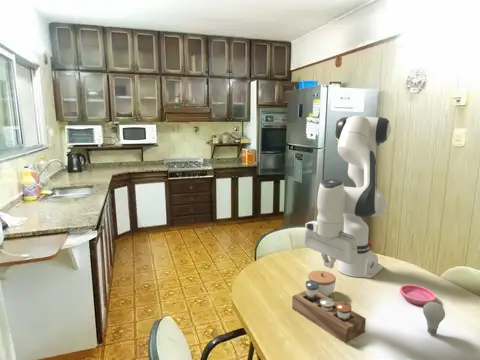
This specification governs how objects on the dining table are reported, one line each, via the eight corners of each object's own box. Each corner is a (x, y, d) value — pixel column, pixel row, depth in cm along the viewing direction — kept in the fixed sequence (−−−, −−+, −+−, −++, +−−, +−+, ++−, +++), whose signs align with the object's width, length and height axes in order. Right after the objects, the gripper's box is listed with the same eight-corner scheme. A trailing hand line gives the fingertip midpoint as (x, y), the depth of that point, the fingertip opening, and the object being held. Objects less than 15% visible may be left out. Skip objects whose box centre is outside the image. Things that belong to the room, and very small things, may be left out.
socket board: (310, 300, 125) (311, 288, 124) (364, 332, 105) (365, 318, 105) (292, 308, 120) (292, 296, 119) (345, 343, 100) (346, 329, 99)
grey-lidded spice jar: (311, 294, 121) (312, 279, 120) (321, 300, 117) (321, 284, 116) (302, 298, 118) (302, 282, 117) (312, 304, 114) (312, 288, 113)
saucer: (434, 295, 128) (434, 288, 128) (436, 311, 117) (436, 303, 117) (399, 288, 134) (400, 281, 133) (398, 303, 123) (399, 295, 123)
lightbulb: (416, 329, 107) (419, 298, 105) (434, 327, 108) (437, 297, 106) (429, 340, 101) (432, 309, 99) (447, 339, 102) (450, 308, 100)
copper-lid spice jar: (341, 316, 110) (342, 300, 109) (353, 323, 106) (354, 306, 105) (332, 321, 107) (333, 304, 106) (344, 328, 103) (345, 311, 102)
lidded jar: (302, 292, 131) (302, 271, 129) (319, 285, 137) (319, 264, 136) (323, 304, 122) (324, 281, 121) (340, 295, 129) (341, 273, 127)
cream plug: (325, 312, 116) (326, 296, 115) (336, 318, 112) (337, 302, 111) (316, 316, 113) (317, 300, 112) (327, 323, 109) (327, 306, 108)
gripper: (362, 234, 100) (360, 275, 103) (314, 219, 117) (313, 254, 119) (350, 238, 97) (348, 281, 99) (301, 222, 113) (301, 259, 116)
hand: (328, 266), depth 109 cm, fingers closed
